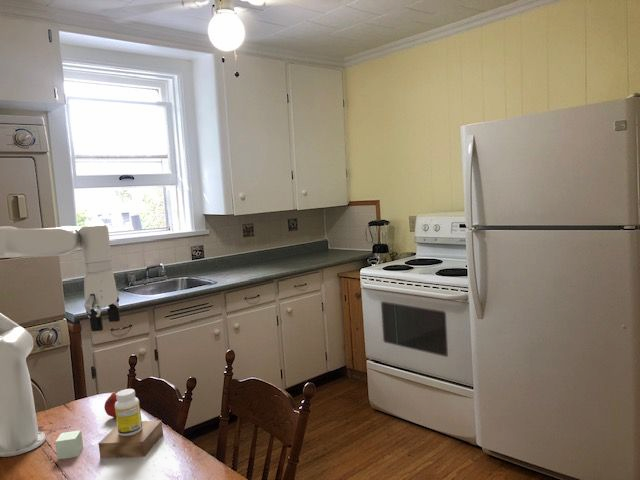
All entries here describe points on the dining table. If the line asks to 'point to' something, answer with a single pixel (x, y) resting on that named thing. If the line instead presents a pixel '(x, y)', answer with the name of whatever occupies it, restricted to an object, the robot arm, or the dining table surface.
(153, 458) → the dining table surface
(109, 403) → the onion
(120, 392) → the pill bottle
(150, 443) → the walnut block
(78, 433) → the sage cube
